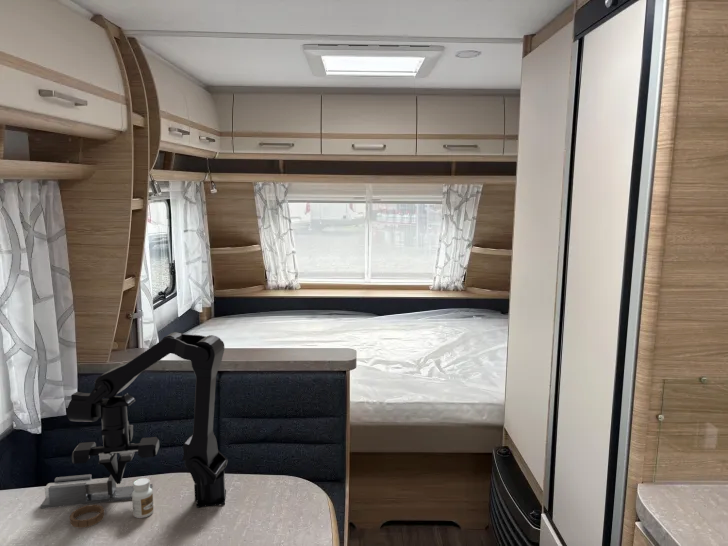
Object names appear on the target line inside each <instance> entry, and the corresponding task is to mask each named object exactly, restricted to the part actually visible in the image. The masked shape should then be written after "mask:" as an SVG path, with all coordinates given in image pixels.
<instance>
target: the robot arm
mask: <svg viewBox="0 0 728 546" xmlns="http://www.w3.org/2000/svg"><path fill="white" fill-rule="evenodd" d="M225 348H226V347H225V343H224V341H223V340H222V339H221V338H220V337H219V336H217V335H214V334H211V335H210V334H209V335H207V336H205V335H200V334H188V333H187V334H186V333H180V332H178V331H175V332H171V333H170V334H168V335H166V336H164V337H163V338H162V339H161V340H160V341H159V342H156V344H154V345H153V346H151V347H149V348H148V349H147V350H145V351H143V352H141V353H140V354H139V355H138V356H136V357H135V358H132V360H130V361H128V362H126V363H123V364H120V365H117V366H115V367H113V368H112V369H109V370H108V371H106V372H104V373H103V374H101V375H99V376H97V378H95V380H94V387H93V389H92V391H91V392H89V393H88V392H81V391H80V392H79V391H76V392H74V393H73V394H71V396H70V397H71V400H70V401H69V403H68V406H67V410H66V417H67V419H68V420H69V421H70V422H84V423H85V422H90V423H94V422H97V421H98V420H99V419H100V418H101V419H100V420H101V431H100V433H101V436H102V442H103V443H102V445H103V446H101V445H100V446H97V443H96V442H95V441H88V442H79V443H78V445H76V447H75V448H74V450H73V451H72V453H71V462H72V464H86V463H87V462H88V461H89V460H90V459H91V456H99V457H98V458H99V460H98V465H100V466H101V465H103V467H104V468H105V469H106V470H107V471H108V472H109V474H110V475H112V477H113V479H114V480H115V482H116V485H120V484H121V483H122V480H123V477H124V473H125V469H126V467H127V463H130V462H132V460H133V458H134V456H135V453H137V455H138V456H139V457H140V458H141V459H144V458H146V459H147V458H154V457H157V454H158V452H159V449H160V440H159V438H158V437H157V436H152V437H151V436H150V437H142V438H141V439H140V441H139V443H134V442H133V443H130V442H132V440H133V437H134V424H130V422H129V420H128V407H129V406H131V405H132V404H133V403H134V402H136V398H135V397H133V396H132V395H130V394H129V393H128V392H126V393H124V394H123V395H118V394H119V393H121V392H123V391H124V390H125V389H127V388H128V387H129V386H130V385H131V384H132V383H133V382H134V381H135V380H136V378H138V376H139V375H140V374H141V373H143V372H144V371H145V370H147V369H149V368H150V367H152V366H153V365H155V364H156V363H158V362H159V361H161V360H162V359H164V358H166V357H167V356H169V355H170V354H172V355H175V356H177V357H179V358H180V359H183V360H186V361H191V369H192V371H193V373H194V375H195V388H194V389H195V392H194V411H193V412H194V413H193V427H192V428H193V429H192V435H191V436H189V437H188V439H186V441H185V442H183V446H182V448H183V449H182V450H183V456H182V459H181V461H182V462H184V467H185V469H186V470H187V471H188V472H189V474H190V475H191V478H192V481H193V483H194V486H193V487H194V489H193V490H194V501H195V502H196V507H197V508H205V507H213V506H214V507H215V506H222V505H225V504H226V500H227V499H226V497H227V489H226V481H225V480H226V476H225V470H224V469H225V468H226V467H227V465H228V462H229V461H228V460H229V459H228V457H226V456H225V455H224V454H223V453H221V451H220V450H219V449H218V442H217V441H218V440H217V438H216V435H215V433H214V418H215V416H214V415H215V401H216V384H217V383H216V382H217V374H218V371H219V369H220V366H221V364H222V361H223V356H224V353H225ZM118 454H119V457H118Z"/></svg>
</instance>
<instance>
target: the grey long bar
mask: <svg viewBox="0 0 728 546" xmlns="http://www.w3.org/2000/svg"><path fill="white" fill-rule="evenodd" d="M77 483H87V494H91V493H101V492H108V495H113V493H114V491H115V489H116V487H117V483H116V482H115V480H114V479H113V477H112V475H111V474H110V475H109V477H103V478H92V479H90V480H79V481H68V482H57V483H55V482H49V483H47V484H46V486H45V487H44V496H45V497H44V499H45V498H49V490H48V488H49V487H50V486H56V485H66V484H77Z"/></svg>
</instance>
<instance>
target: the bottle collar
mask: <svg viewBox="0 0 728 546" xmlns="http://www.w3.org/2000/svg"><path fill="white" fill-rule="evenodd" d="M89 513H97V515H95V516H92V517H90V518H86V519H77V518H78V517H80V516H83V515H86V514H89ZM105 515H106V514H105V508H104V507H103V505H99V504H88V505H87V504H85V505H84V506H81V507H78V508H77V509H75V510H74V511H72V512H71V514H70V516H69V524H70V525H71V527H73V528H77V529H82V528H89V527H92V526H94V525H98V523H100V522H101V521H103V519H104V518H105Z"/></svg>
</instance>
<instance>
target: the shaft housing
mask: <svg viewBox="0 0 728 546" xmlns="http://www.w3.org/2000/svg"><path fill="white" fill-rule="evenodd" d="M90 479H93V478H92V473H91V474H90V473H89V474H80V475H68V476H59V477H58V476H57V477H55V478H54V483H57V482H68V481H79V480H90ZM153 487H154V486H153V483H150V488H151V489H152V490H153ZM48 490H49V498H45V497H44V500H43V501H42V503H41V504H40V509H48V508H49V509H51V508H60V507H59V506H61V507H68V506H78V505H87V504H88V505H92V504H99V503H101V504H102V503H109V502H118V501H129V500H132V492H133V491H134V486H133V485H129V486H128V485H127V486H118V487H117V486H116V489H115V491H114V493H113V495H108V492H101V493H91V494H87V483H77V484H66V485H56V486H50V487H49V488H48Z"/></svg>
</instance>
